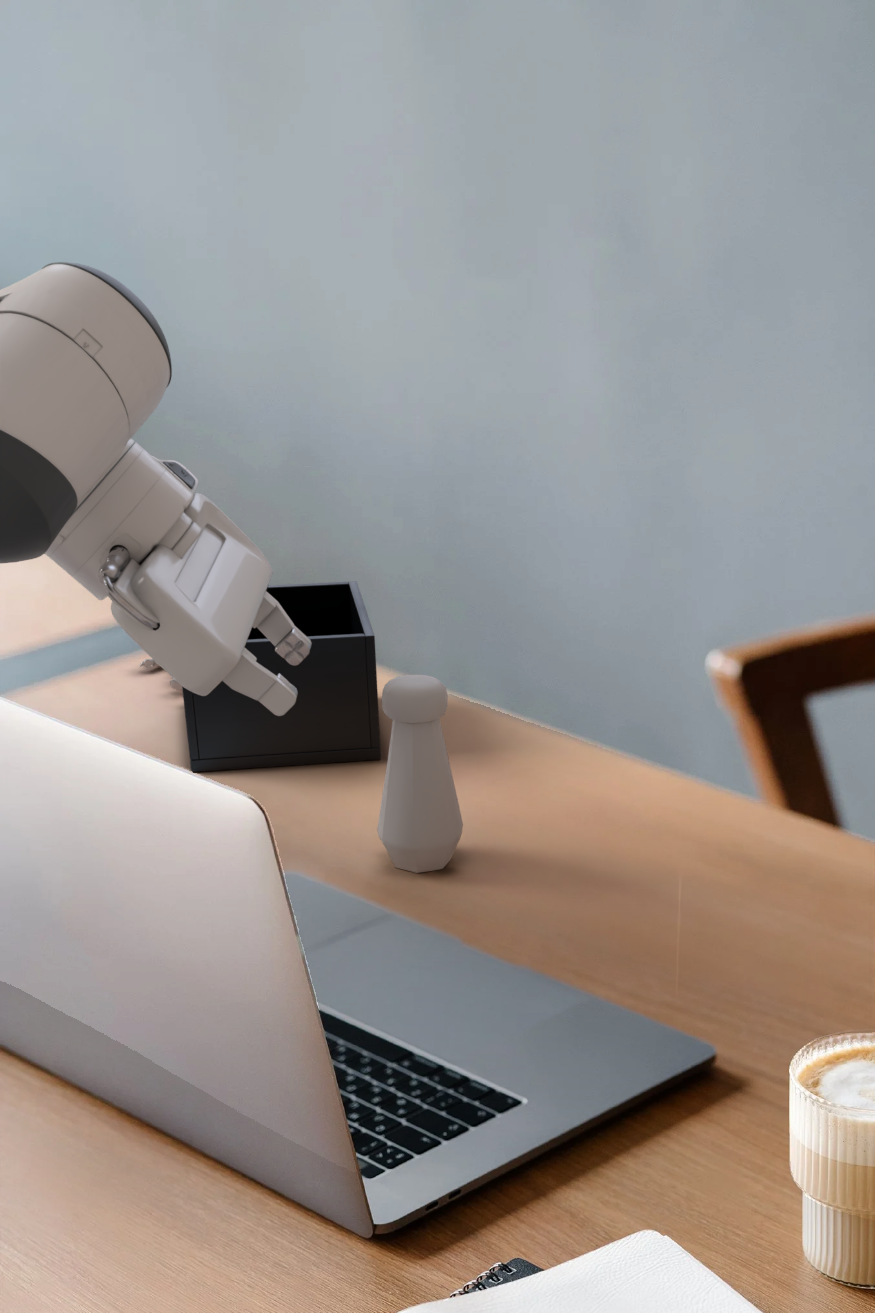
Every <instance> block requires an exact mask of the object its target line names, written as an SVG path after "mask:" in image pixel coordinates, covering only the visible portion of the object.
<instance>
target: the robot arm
mask: <svg viewBox="0 0 875 1313" xmlns="http://www.w3.org/2000/svg"><path fill="white" fill-rule="evenodd" d="M172 369H173V368H172V357H171V352H170V349H169V344H168V341H167V339H166V336H165V334H164V331H163V329H162V328H161V325H160V324H159V322H158V320H157V319H156V317H155V316H154V315H153V313H152V311H151V309H150V308H148V306H147V305H146V304H145V303H144V301H142V300H141V299H140V298H139V296H137V295H136V294H135V293H134V292H133V291H132V290H131V289H130V288H128V287H127V286H126V285H125V284H123V283H122V282H120V280H118V279H116V278H115V277H113V276H112V275H110V274H108V273H106V272H104V271H102V270H100V269H97V268H95V267H92V266H90V265H86V264H81V263H76V262H68V261H67V262H66V261H58V262H57V261H56V262H51V263H48V264H45V265H44V266H43V267H42V268H40V269H39V270H38V271H36V272H34V273H32V274H30V275H28V276H26V277H24V278H22V279H20V280H18V281H16V282H14V283H11V284H10V285H8V286H5V287H3V288H1V289H0V564H1V565H2V564H12V563H13V564H14V563H19V562H25V561H30V560H34V559H38V558H41V557H42V556H43V555H46V556H47V557H48V558H49V559H50V560H52V561H53V562H54V563H55V564H56V565H58V566H59V567H60V569H62V570H63V571H64V572H65V573H67V574H68V575H69V576H71V578H72V579H73V580H75V581H76V582H77V583H78V584H80V586H82V587H83V588H84V589H86V591H87V592H89V593H90V594H91V595H92V596H93V597H95V598H96V599H97V600H98V601H103V600H105V599H106V598H108V599H110V601H111V604H110V612H111V615H112V617H113V619H114V620H115V622H116V623H117V624H118V626H119V627H120V628H121V629H122V630H123V631H124V632H125V634H126V635H127V636H128V637H129V638H130V639H131V640H132V641H133V642H134V643H135V644H136V645H137V646H138V647H140V649H142V651H144V652H145V653H146V654H147V655H148V656H149V657H150V659H153V660H154V661H155V662H156V663H157V664H158V665H160V666H159V667H160V668H162V670H164V671H165V672H166V673H167V674H168V675H169V676H170V678H171V677H173V678H174V679H175V680H176V681H177V682H178V683H179V684H180V685H182V686H183V687H184V688H186V689H187V690H189V691H191V692H193V693H196V694H198V695H201V696H206V695H208V694H209V693H210V692H211V691H212V690H213V689H214V688H215V687H216V686H217V685H218V684H219V683H220V682H221V681H223V682H224V683H226V684H227V685H228V686H229V687H230V688H231V689H233V690H235V691H237V692H239V693H241V694H244V695H246V696H248V697H250V698H252V699H255V700H258V701H259V702H260V703H262V704H263V705H264V706H265V707H266V708H267V709H269V710H270V711H271V712H272V713H273V714H274V715H277V716H282V715H284V714H285V713H286V712H287V711H288V710H289V709H290V708H291V707H292V706H293V705H294V704H295V702H296V699H297V694H298V692H297V688H296V687H295V686H293V685H292V684H290V683H289V682H288V680H287V679H285V678H284V677H283V676H282V675H281V674H280V673H279V674H278V675H277V676H276V675H274V674H273V673H272V672H270V671H269V670H267V669H266V668H264V667H263V666H262V665H260V664H259V663H257V662H256V660H257V658H256V657H255V656H254V655H253V654H252V653H250V652H249V651H248V650H247V649H246V648H245V644H246V642H247V639H248V637H249V634H250V631H251V629H252V627H253V628H256V627H257V628H258V629H259V630H260V631H261V632H262V633H263V634H264V635H265V636H266V637H267V638H268V640H269V641H270V642H271V643H272V644H273V645H274V646H276V647H275V651H276V652H277V653H278V654H279V655H280V656H281V657H282V658H284V659H285V660H286V661H287V662H288V663H289V664H290V665H294V666H296V665H299V664H300V663H301V662H302V660H303V659H304V658H306V656H307V655H308V654H309V652H310V649H311V644H312V643H311V641H310V639H309V638H308V637H307V636H305V635H304V634H303V633H302V632H301V631H300V630H299V629H298V628H297V627H296V626H294V624H293V622H292V621H291V619H290V618H289V616H288V615H287V614H286V612H285V611H284V609H283V608H282V607H281V605H280V604H279V602H278V601H277V600H276V599H274V598H273V597H272V596H271V595H270V594H269V593H268V592H267V591H266V590H267V587H268V585H270V582H271V579H272V577H273V574H274V570H273V568H272V566H271V564H270V562H269V561H268V559H267V558H266V556H265V555H264V553H263V552H262V550H260V548H259V547H258V546H257V545H256V544H255V543H254V542H253V541H252V540H251V539H250V538H249V536H248V535H246V533H244V532H243V530H242V529H240V527H238V525H236V524H235V522H234V521H233V520H232V519H231V518H229V517H228V515H227V514H226V513H224V511H222V509H221V508H219V506H217V505H216V504H215V503H214V502H213V501H212V500H211V499H210V498H209V497H207V496H206V495H204V494H203V493H200V492H196V491H197V489H198V487H199V480H198V478H197V476H196V475H195V474H194V473H192V472H191V471H190V469H188V468H187V467H186V466H185V465H184V464H182V462H181V463H180V462H179V461H177V460H173V459H159V458H157V457H156V456H154V455H151V454H150V453H149V452H148V451H147V450H146V449H145V448H143V447H142V446H141V445H140V444H139V443H138V442H137V441H135V440H134V439H133V437H134V435H136V433H137V432H138V431H139V430H140V429H141V427H142V426H143V425H144V424H145V422H146V421H148V419H149V418H150V417H151V416H152V414H153V413H154V412H155V411H156V409H157V408H158V406H159V404H160V403H161V401H162V399H163V397H164V395H165V393H166V391H167V388H168V387H169V385H170V384H171V382H172V376H173V375H172V373H173V370H172Z"/></svg>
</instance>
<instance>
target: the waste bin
mask: <svg viewBox="0 0 875 1313" xmlns="http://www.w3.org/2000/svg"><path fill="white" fill-rule="evenodd" d="M266 591H267V592H268V593H269V594H270V595H271V596H272V597H273V598H274V599H276V600H277V601H278V602H279V604H280V605H281V607H282V608H283V609H284V611H285V612H286V614H287V615H288V616H289V618H290V619H291V621H292V622H293V624H294V626H296V627H297V628H298V629H299V630H300V631H301V632H302V633H303V634H304V635H305V636H307V637H308V638H309V639H310V641H311V643H312V644H311V649H310V652H309V654H308V655H307V656H306V658H304V659H303V660H302V662H301V663H300V664H299V665H296V666H294V665H290V664H289V663H288V662H287V661H286V660H285V659H284V658H282V657H281V656H280V655H279V654H278V653H277V652H276V651H275V647H276V646H274V645H273V644H272V643H271V642H270V641H269V640H268V638H267V637H266V636H265V635H264V634H263V633H262V632H261V631H260V630H259V629H258V628H257V627H256V628H253V627H252V629H251V631H250V634H249V637H248V639H247V642H246V644H245V648H246V649H247V650H248V651H249V652H250V653H252V654H253V655H254V656H255V657H256V658H257V660H256V662H257V663H259V664H260V665H262V666H263V667H264V668H266V669H267V670H269V671H270V672H272V673H273V674H274V675H276V676H277V675H278V674H279V673H280V674H281V675H282V676H283V677H284V678H285V679H287V680H288V682H289V683H290V684H292V685H293V686H295V687H296V688H297V692H298V694H297V699H296V702H295V704H294V705H293V706H292V707H291V708H290V709H289V710H288V711H287V712H286V713H285V714H284V715H282V716H277V715H274V714H273V713H272V712H271V711H270V710H269V709H267V708H266V707H265V706H264V705H263V704H262V703H260V702H259V701H258V700H255V699H252V698H250V697H248V696H246V695H244V694H241V693H239V692H237V691H235V690H233V689H231V688H230V687H229V686H228V685H227V684H226V683H224V682H223V681H221V682H220V683H219V684H218V685H217V686H216V687H215V688H214V689H213V690H212V691H211V692H210V693H209V694H208V695H206V696H201V695H198V694H196V693H193V692H191V691H189V690H187V689H186V688H184V687H183V686H182V690H183V691H182V699H183V708H184V718H185V726H186V735H187V736H186V737H187V746H188V755H189V764H190V772H191V771H194V772H193V773H203V772H216V771H229V770H231V771H232V770H244V769H259V768H271V767H273V768H276V767H288V766H305V765H319V764H334V763H347V762H348V763H349V762H351V763H352V762H365V761H378V760H379V761H380V760H382V753H381V752H382V748H381V732H380V730H381V729H380V714H379V695H378V693H379V692H378V675H377V656H376V636H375V632H374V630H373V627H372V624H371V621H370V618H369V614H368V611H367V609H366V606H365V603H364V600H363V597H362V594H361V591H360V588H359V584H358V581H356V580H353V581H333V582H332V581H331V582H312V583H311V582H310V583H309V582H308V583H288V584H268V587H267V590H266Z"/></svg>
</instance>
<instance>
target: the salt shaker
mask: <svg viewBox="0 0 875 1313" xmlns="http://www.w3.org/2000/svg"><path fill="white" fill-rule="evenodd" d="M448 699H449V695H448V690H447V687H446V685H444V684H443V683H442V681H440V680H439V679H438V678H436V677H433V676H431V675H426V674H404V675H400V676H396V677H394V678H391V679H389V680H388V681H387V682H386V683H385V684H384V685H383V688H382V692H381V707H382V712H383V714H384V715H385V716H386V717H387V718H388V719H390V720H392V723H391V731H390V738H389V747H388V754H387V762H386V768H385V775H384V781H383V788H382V795H381V801H380V807H379V814H378V822H377V826H376V827H377V828H376V831H377V835H378V838H379V840H380V841H381V843H382V845H383V846H384V848H385V849H386V852H387V854H388V856H389V858H390V860H391V862H392V864H393V866H394V868H396V869H400V870H404V871H408V872H411V873H414V874H415V873H416V874H420V873H425V872H432V871H439V870H443V869H444V868H445V867H446V866H447V865H448V863H449V862H450V861H451V860H452V859H453V857H454V853H455V851H456V849H457V847H458V844H459V842H460V840H461V836H462V833H463V828H464V822H463V817H462V813H461V809H460V804H459V799H458V795H457V791H456V790H457V789H456V786H455V782H454V778H453V773H452V767H451V763H450V758H449V755H448V750H447V745H446V741H445V737H444V732H443V727H442V723H441V718H442V717H444V716H445V714H446V712H447V709H448V706H449V705H448V704H449V700H448Z"/></svg>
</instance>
